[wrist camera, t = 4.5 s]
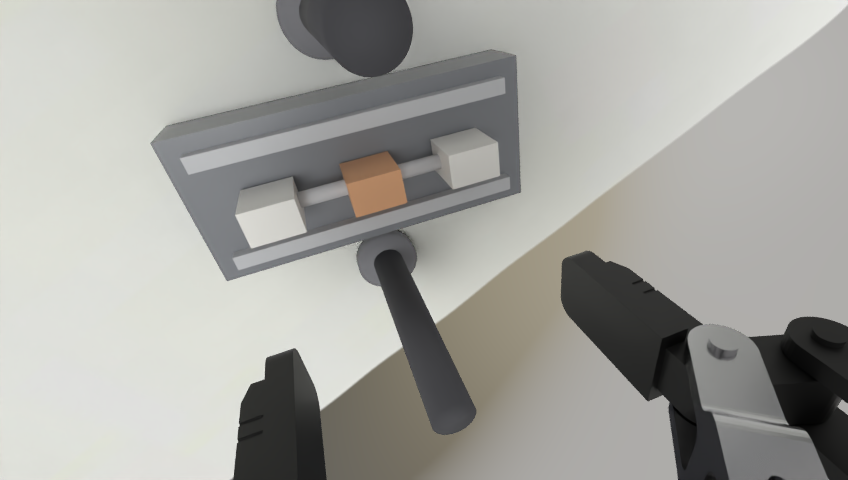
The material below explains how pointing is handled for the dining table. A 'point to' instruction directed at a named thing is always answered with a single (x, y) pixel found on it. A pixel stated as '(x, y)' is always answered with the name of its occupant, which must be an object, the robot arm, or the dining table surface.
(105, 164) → the dining table surface
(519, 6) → the dining table surface
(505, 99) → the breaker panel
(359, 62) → the dark grey cylinder
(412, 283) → the dark grey lever handle
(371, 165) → the white and orange bar
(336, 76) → the dining table surface
